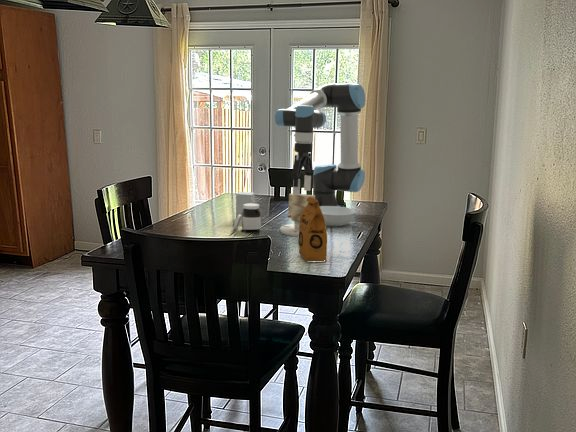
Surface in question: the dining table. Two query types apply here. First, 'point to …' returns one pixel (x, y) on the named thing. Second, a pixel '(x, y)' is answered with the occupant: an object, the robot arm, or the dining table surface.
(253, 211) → the spread jar
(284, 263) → the dining table surface
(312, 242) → the coffee package
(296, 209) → the lever handle
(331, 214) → the serving bowl
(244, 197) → the supplement box
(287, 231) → the dial plate
